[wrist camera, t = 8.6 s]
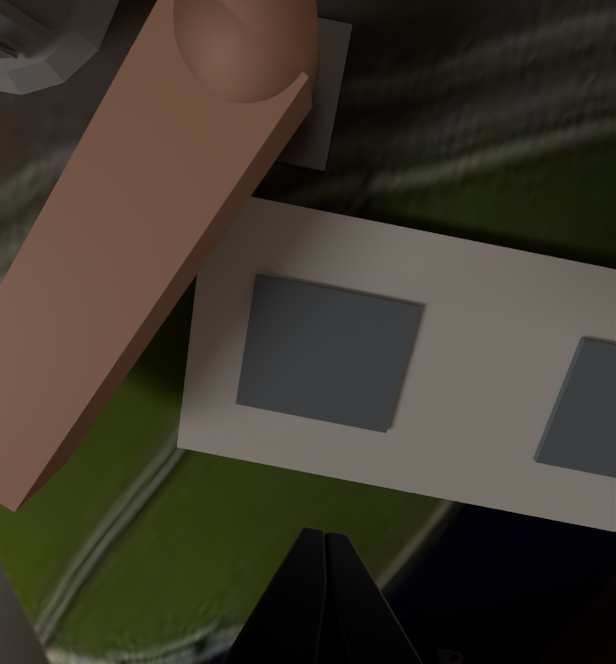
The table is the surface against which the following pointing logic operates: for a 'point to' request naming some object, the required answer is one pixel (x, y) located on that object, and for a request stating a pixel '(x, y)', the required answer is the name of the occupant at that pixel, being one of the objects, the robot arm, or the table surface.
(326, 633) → the robot arm
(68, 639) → the table surface
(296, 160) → the dark plate
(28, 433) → the cable arm
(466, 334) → the panel
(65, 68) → the french press
